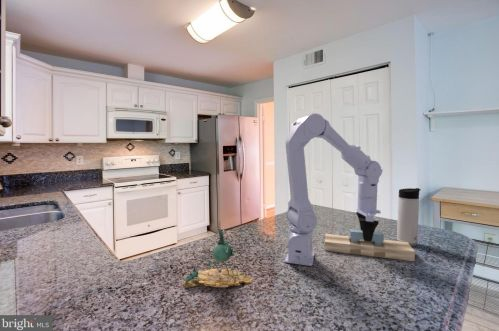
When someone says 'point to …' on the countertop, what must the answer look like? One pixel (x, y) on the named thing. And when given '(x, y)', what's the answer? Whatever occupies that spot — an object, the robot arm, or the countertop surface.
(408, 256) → the rail
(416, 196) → the travel mug
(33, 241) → the countertop surface
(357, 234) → the clip
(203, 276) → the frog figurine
